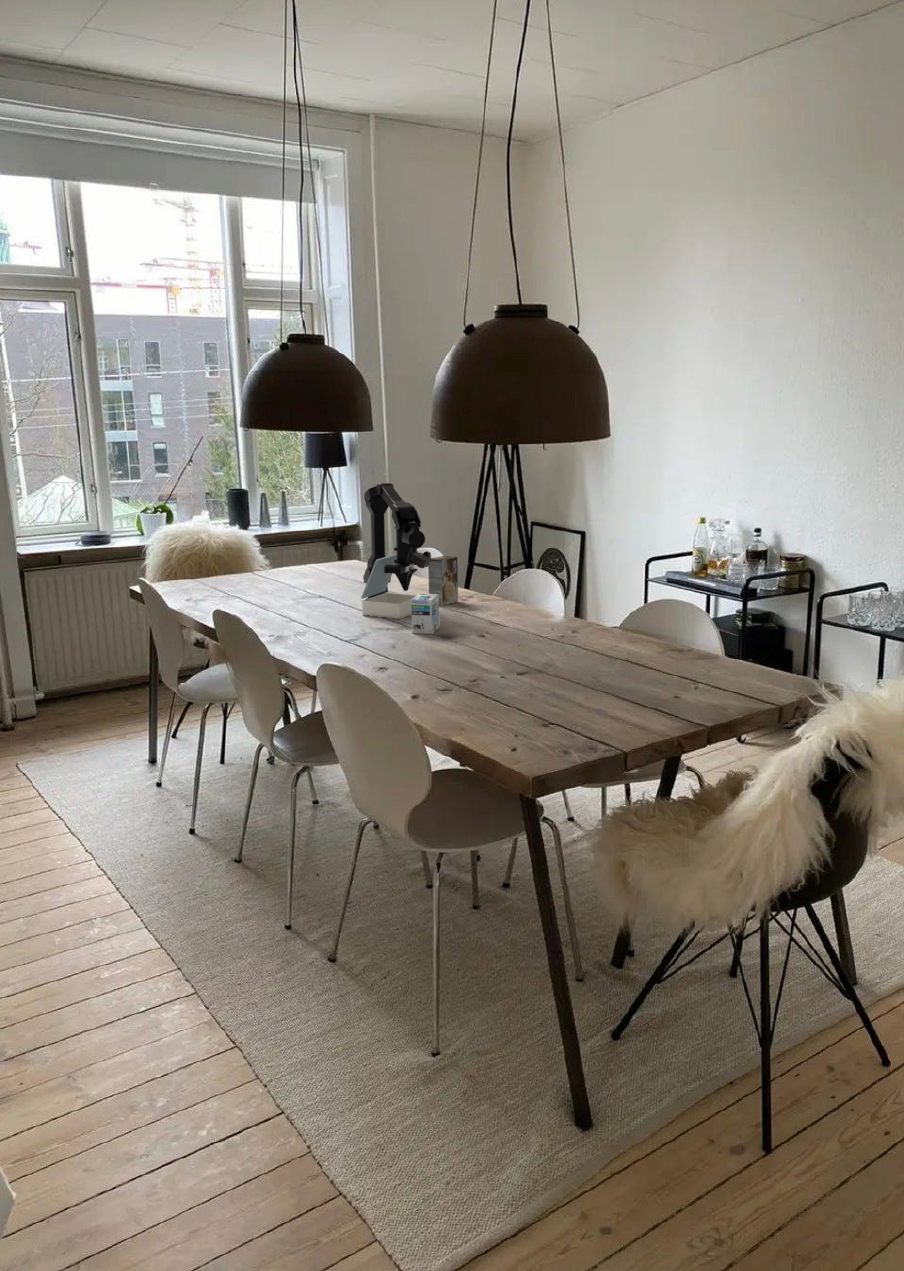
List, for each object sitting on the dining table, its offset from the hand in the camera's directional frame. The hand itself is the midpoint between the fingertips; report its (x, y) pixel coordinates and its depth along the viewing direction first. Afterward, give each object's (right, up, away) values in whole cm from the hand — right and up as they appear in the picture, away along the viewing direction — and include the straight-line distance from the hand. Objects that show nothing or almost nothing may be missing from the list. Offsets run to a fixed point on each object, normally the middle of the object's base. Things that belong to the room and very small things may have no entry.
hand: (405, 590), depth 327 cm
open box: (-5, -7, +4) cm, 9 cm away
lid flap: (-8, +5, +3) cm, 10 cm away
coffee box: (+12, -4, +20) cm, 24 cm away
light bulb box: (+7, -13, -21) cm, 26 cm away
